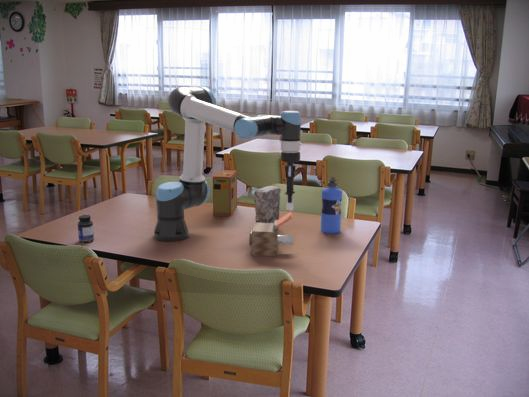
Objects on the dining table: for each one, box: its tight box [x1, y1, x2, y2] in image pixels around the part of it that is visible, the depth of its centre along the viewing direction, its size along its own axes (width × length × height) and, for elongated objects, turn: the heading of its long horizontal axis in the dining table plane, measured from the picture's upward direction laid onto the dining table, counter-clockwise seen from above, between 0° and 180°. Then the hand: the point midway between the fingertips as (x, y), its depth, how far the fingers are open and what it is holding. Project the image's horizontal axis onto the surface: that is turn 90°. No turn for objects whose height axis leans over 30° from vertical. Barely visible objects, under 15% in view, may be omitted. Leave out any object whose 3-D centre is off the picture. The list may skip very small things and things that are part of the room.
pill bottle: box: [77, 214, 95, 243], centre depth 228 cm, size 6×6×11 cm
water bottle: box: [320, 176, 343, 235], centre depth 243 cm, size 9×9×25 cm
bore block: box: [251, 222, 280, 257], centre depth 218 cm, size 10×12×10 cm
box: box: [212, 169, 238, 217], centre depth 275 cm, size 17×9×20 cm, turn 172°
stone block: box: [253, 185, 281, 223], centre depth 244 cm, size 13×7×20 cm, turn 151°
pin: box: [248, 230, 294, 247], centre depth 218 cm, size 17×6×6 cm, turn 85°
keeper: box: [273, 210, 294, 230], centre depth 216 cm, size 9×9×2 cm
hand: (289, 209), depth 214 cm, fingers closed
